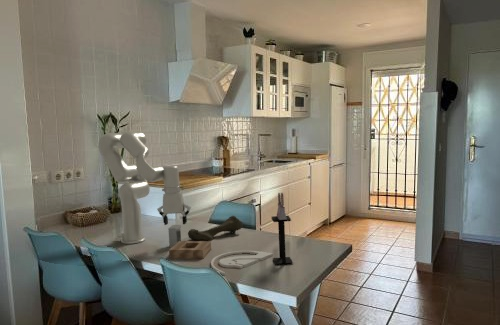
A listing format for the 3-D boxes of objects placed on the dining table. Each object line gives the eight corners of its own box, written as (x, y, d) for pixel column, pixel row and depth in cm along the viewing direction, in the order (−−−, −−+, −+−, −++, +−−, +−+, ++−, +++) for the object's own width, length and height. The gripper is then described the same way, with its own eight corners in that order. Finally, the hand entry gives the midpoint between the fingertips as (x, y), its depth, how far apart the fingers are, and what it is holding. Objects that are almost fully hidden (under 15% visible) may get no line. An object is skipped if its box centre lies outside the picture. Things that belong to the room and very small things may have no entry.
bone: (191, 231, 202) (242, 214, 215) (185, 229, 211) (234, 212, 225) (196, 250, 203) (246, 231, 216) (189, 246, 212) (238, 229, 225)
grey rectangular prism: (169, 247, 197) (168, 228, 196) (174, 243, 203) (173, 224, 203) (177, 247, 196) (176, 228, 195) (181, 243, 203) (180, 224, 202)
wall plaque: (273, 253, 177) (223, 272, 156) (273, 257, 177) (223, 276, 156) (244, 246, 190) (194, 263, 169) (244, 249, 190) (194, 266, 169)
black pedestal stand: (272, 258, 173) (269, 191, 171) (289, 257, 174) (286, 190, 172) (275, 266, 163) (273, 195, 161) (293, 265, 164) (291, 194, 161)
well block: (169, 258, 180) (168, 249, 180) (179, 249, 194) (179, 241, 193) (203, 258, 177) (202, 250, 177) (211, 249, 191) (210, 241, 191)
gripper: (153, 192, 195) (156, 226, 196) (186, 190, 192) (189, 225, 193) (159, 190, 202) (161, 223, 203) (191, 188, 199) (194, 221, 200)
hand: (175, 224), depth 198 cm, fingers open, 9 cm apart
